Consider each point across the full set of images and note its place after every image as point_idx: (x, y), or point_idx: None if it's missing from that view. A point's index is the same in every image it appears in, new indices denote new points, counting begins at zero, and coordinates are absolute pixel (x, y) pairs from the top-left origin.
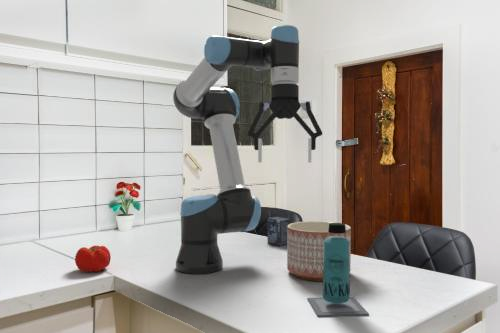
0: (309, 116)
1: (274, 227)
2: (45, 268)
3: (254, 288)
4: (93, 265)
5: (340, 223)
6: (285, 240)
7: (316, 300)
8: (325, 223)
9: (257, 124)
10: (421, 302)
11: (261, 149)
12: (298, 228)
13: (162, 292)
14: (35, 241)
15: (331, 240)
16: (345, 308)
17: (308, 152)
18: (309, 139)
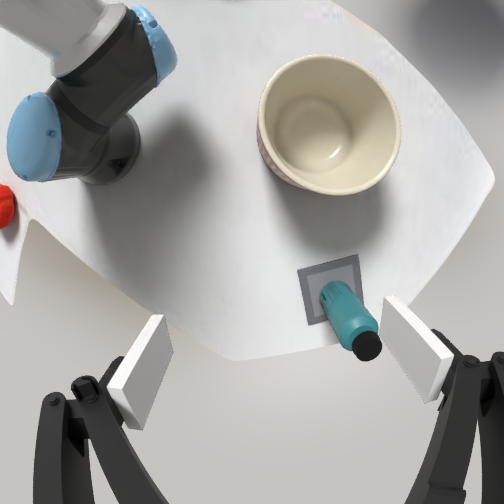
0: (483, 489)
1: None
2: None
3: (215, 235)
4: (8, 223)
5: (375, 350)
6: None
7: (309, 280)
8: (345, 64)
9: (68, 465)
10: (425, 254)
11: (149, 363)
12: (280, 81)
13: (105, 274)
14: None
15: (350, 349)
16: None
17: (396, 357)
18: (426, 398)
